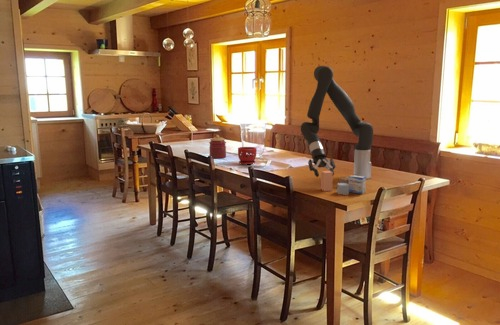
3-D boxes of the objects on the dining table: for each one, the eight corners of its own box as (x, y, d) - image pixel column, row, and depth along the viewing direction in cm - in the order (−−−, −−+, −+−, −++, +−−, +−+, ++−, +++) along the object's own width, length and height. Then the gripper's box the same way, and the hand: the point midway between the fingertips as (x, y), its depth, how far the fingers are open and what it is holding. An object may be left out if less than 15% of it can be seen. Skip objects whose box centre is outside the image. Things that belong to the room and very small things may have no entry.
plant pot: (256, 165, 299) (256, 148, 296) (237, 165, 299) (237, 148, 297) (256, 162, 311) (256, 146, 309) (238, 162, 312) (238, 146, 310)
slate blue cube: (346, 192, 225) (346, 183, 224) (348, 194, 220) (348, 185, 219) (337, 192, 225) (337, 183, 224) (338, 194, 220) (339, 185, 219)
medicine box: (347, 192, 225) (348, 176, 223) (351, 190, 228) (351, 174, 227) (362, 194, 220) (363, 177, 219) (365, 192, 224) (366, 176, 222)
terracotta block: (328, 188, 232) (329, 170, 231) (332, 190, 228) (332, 172, 226) (320, 189, 231) (321, 171, 229) (324, 191, 227) (324, 172, 225)
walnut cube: (346, 185, 239) (347, 177, 238) (352, 187, 235) (352, 178, 234) (339, 186, 237) (339, 177, 236) (345, 188, 233) (345, 179, 232)
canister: (208, 156, 338) (207, 134, 335) (224, 155, 342) (223, 133, 339) (211, 159, 326) (210, 136, 323) (228, 158, 330) (227, 135, 326)
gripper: (307, 148, 234) (315, 172, 225) (331, 147, 237) (339, 171, 228) (303, 156, 240) (310, 180, 231) (326, 154, 243) (335, 178, 234)
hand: (325, 175), depth 230 cm, fingers open, 8 cm apart
